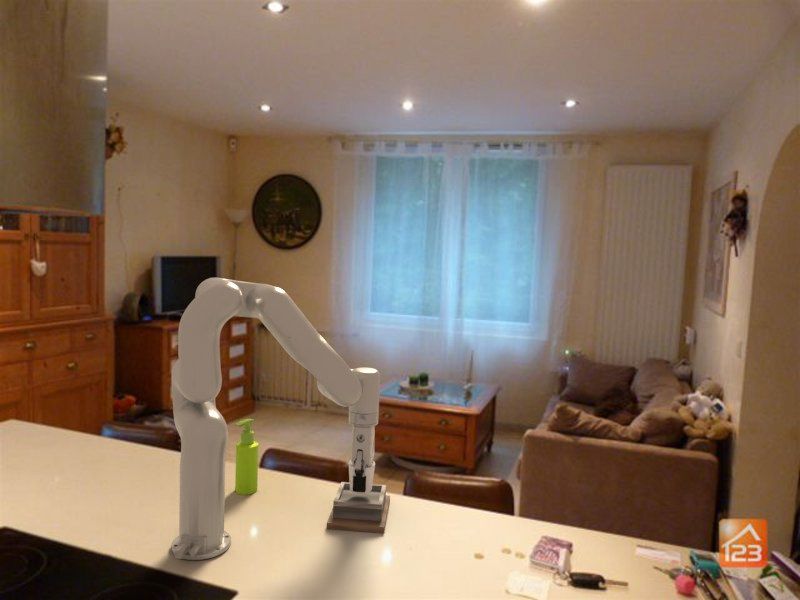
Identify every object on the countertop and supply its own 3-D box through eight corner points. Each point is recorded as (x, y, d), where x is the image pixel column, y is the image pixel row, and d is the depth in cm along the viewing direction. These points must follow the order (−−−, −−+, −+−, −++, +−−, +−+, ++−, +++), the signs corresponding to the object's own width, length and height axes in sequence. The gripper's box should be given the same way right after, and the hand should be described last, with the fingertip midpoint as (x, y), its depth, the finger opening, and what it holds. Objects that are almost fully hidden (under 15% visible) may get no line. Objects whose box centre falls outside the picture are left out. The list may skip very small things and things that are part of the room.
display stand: (384, 533, 141) (385, 510, 141) (326, 529, 142) (327, 506, 142) (389, 501, 159) (390, 480, 159) (338, 497, 160) (339, 477, 159)
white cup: (373, 495, 147) (374, 468, 146) (345, 493, 147) (346, 466, 146) (375, 484, 153) (376, 458, 153) (348, 482, 154) (349, 456, 153)
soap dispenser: (227, 492, 160) (229, 421, 158) (245, 484, 166) (247, 415, 164) (244, 498, 157) (245, 425, 155) (261, 489, 163) (263, 418, 161)
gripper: (374, 428, 139) (371, 501, 141) (381, 408, 157) (378, 474, 158) (343, 426, 140) (340, 499, 142) (353, 407, 157) (351, 472, 159)
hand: (360, 485), depth 150 cm, fingers closed on white cup, 5 cm apart
